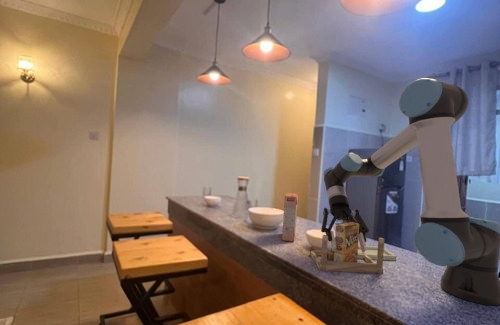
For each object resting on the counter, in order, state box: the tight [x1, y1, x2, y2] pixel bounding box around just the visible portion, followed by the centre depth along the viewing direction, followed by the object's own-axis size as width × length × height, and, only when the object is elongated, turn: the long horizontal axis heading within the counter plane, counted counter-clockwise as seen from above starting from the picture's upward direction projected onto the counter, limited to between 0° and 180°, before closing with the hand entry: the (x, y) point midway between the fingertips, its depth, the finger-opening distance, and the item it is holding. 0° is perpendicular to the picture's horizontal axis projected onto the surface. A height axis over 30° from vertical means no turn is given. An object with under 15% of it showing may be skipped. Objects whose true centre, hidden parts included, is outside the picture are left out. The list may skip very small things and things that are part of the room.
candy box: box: [333, 221, 359, 262], centre depth 102 cm, size 9×4×15 cm, turn 125°
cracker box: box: [281, 192, 299, 243], centre depth 134 cm, size 14×6×21 cm, turn 168°
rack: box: [309, 234, 385, 275], centre depth 104 cm, size 16×22×12 cm
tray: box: [357, 245, 397, 262], centre depth 116 cm, size 12×16×2 cm
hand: (349, 250), depth 99 cm, fingers open, 10 cm apart
